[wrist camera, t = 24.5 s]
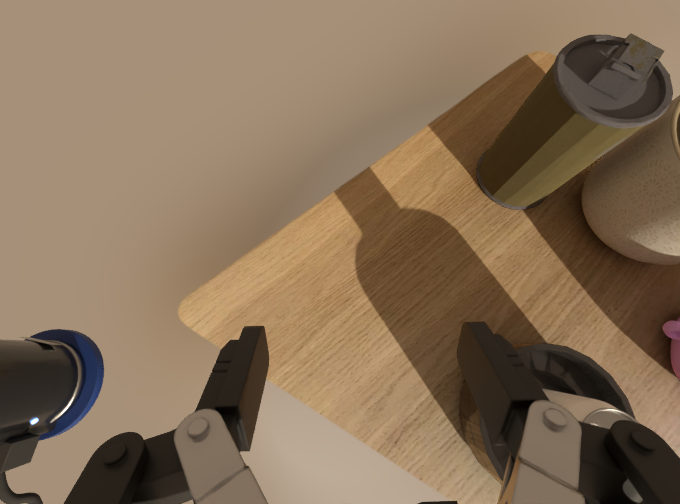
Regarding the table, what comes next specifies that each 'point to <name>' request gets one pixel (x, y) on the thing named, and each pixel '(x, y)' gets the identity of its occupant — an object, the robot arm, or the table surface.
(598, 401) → the can
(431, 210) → the table surface
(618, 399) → the bowl
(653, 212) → the planter
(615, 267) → the table surface
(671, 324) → the teapot
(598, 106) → the canister
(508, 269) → the table surface
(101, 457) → the robot arm
